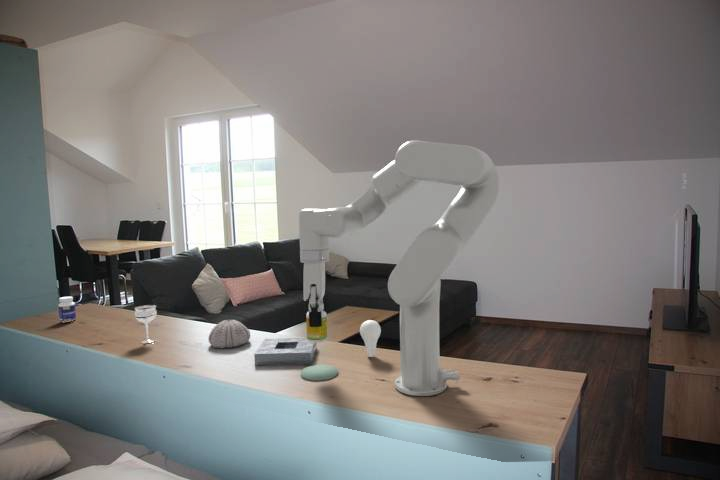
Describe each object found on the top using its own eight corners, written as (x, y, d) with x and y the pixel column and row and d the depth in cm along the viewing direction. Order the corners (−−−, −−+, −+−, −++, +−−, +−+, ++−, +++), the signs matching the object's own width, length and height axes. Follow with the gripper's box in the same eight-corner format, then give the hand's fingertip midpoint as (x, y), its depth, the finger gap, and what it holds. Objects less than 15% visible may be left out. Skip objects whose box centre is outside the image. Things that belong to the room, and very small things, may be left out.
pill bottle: (64, 324, 189) (62, 299, 188) (56, 322, 192) (54, 298, 191) (79, 320, 194) (77, 296, 193) (71, 319, 197) (69, 295, 196)
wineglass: (159, 343, 160) (156, 308, 159) (137, 346, 158) (134, 310, 156) (158, 338, 167) (155, 304, 165) (136, 341, 164) (134, 306, 162)
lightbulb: (385, 355, 142) (384, 318, 141) (375, 362, 137) (374, 324, 136) (367, 352, 145) (366, 316, 144) (356, 358, 140) (355, 321, 139)
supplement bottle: (324, 343, 125) (323, 306, 124) (304, 342, 126) (303, 306, 125) (329, 337, 130) (328, 301, 129) (310, 336, 131) (309, 301, 130)
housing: (316, 348, 150) (315, 337, 150) (311, 364, 136) (310, 352, 136) (265, 349, 150) (264, 338, 150) (254, 365, 136) (254, 353, 136)
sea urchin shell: (199, 348, 154) (198, 323, 153) (228, 336, 166) (226, 313, 166) (232, 353, 149) (231, 327, 148) (259, 340, 161) (258, 316, 160)
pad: (339, 366, 134) (338, 364, 134) (336, 380, 124) (336, 378, 124) (303, 367, 134) (303, 365, 134) (298, 381, 124) (298, 379, 124)
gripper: (304, 251, 135) (306, 315, 136) (295, 260, 118) (298, 333, 119) (331, 251, 134) (333, 314, 136) (326, 260, 117) (328, 332, 119)
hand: (316, 322), depth 128 cm, fingers closed on supplement bottle, 5 cm apart
